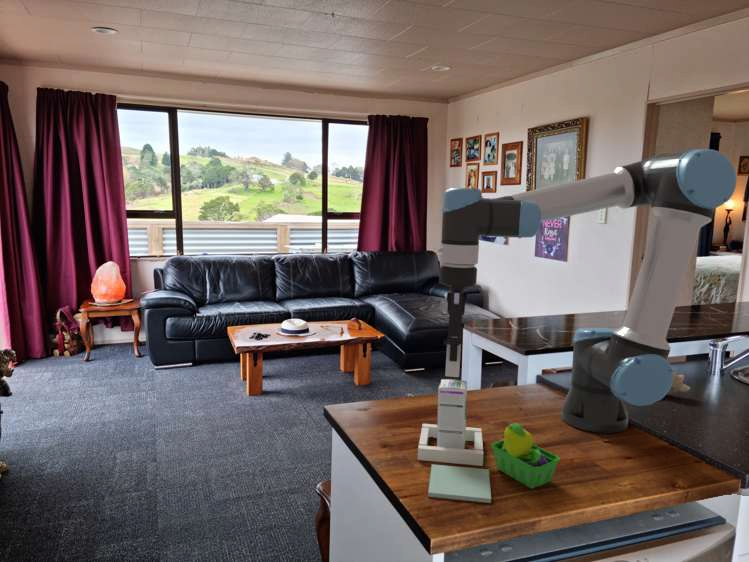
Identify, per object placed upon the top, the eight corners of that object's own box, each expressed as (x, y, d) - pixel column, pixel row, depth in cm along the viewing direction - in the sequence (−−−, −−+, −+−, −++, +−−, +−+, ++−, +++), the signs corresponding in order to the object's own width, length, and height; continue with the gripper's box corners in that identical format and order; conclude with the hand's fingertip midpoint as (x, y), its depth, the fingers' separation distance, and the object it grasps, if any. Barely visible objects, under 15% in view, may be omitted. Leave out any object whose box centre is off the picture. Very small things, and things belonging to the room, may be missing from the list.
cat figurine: (635, 369, 160) (680, 362, 157) (638, 390, 162) (684, 383, 159) (642, 386, 153) (690, 378, 149) (646, 407, 155) (693, 400, 152)
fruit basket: (560, 483, 106) (564, 426, 104) (527, 495, 101) (531, 436, 100) (515, 459, 115) (518, 406, 114) (483, 469, 111) (486, 415, 109)
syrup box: (464, 456, 116) (467, 389, 114) (435, 453, 117) (438, 386, 115) (465, 445, 122) (468, 380, 120) (437, 442, 123) (440, 378, 121)
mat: (488, 473, 109) (488, 469, 109) (491, 503, 98) (491, 498, 98) (431, 468, 111) (431, 464, 111) (428, 496, 100) (428, 492, 100)
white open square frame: (480, 439, 125) (481, 428, 125) (482, 465, 112) (483, 454, 112) (422, 434, 127) (422, 423, 127) (417, 459, 114) (418, 448, 114)
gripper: (442, 258, 127) (437, 349, 130) (437, 271, 102) (431, 383, 105) (476, 260, 126) (470, 352, 129) (478, 273, 101) (471, 386, 104)
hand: (452, 366), depth 117 cm, fingers open, 13 cm apart
